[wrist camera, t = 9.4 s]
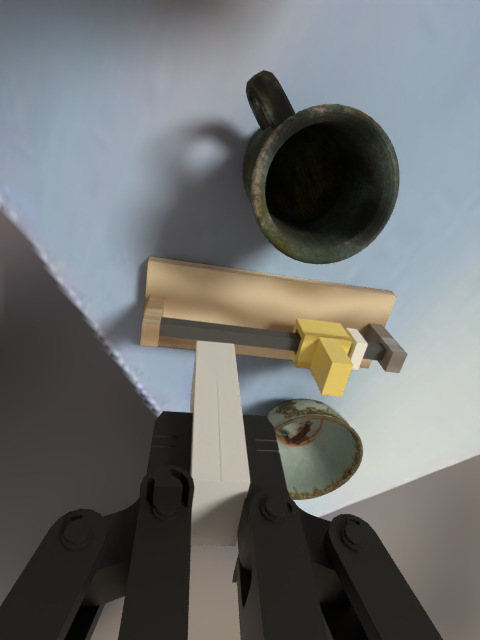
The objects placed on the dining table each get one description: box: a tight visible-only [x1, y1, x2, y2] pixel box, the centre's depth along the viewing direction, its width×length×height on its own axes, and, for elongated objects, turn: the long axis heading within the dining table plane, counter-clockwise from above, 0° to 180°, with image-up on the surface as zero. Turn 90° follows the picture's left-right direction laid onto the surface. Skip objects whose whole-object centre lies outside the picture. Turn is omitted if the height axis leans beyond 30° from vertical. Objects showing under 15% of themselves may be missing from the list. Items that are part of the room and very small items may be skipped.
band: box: [346, 328, 368, 370], centre depth 42 cm, size 3×1×3 cm, turn 170°
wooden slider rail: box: [140, 256, 407, 373], centre depth 42 cm, size 10×28×8 cm, turn 80°
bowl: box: [266, 399, 363, 500], centre depth 50 cm, size 14×13×8 cm
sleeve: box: [289, 318, 353, 396], centre depth 39 cm, size 4×5×8 cm
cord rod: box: [159, 317, 386, 361], centre depth 40 cm, size 1×24×1 cm, turn 80°
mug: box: [243, 70, 399, 264], centre depth 33 cm, size 11×15×12 cm
